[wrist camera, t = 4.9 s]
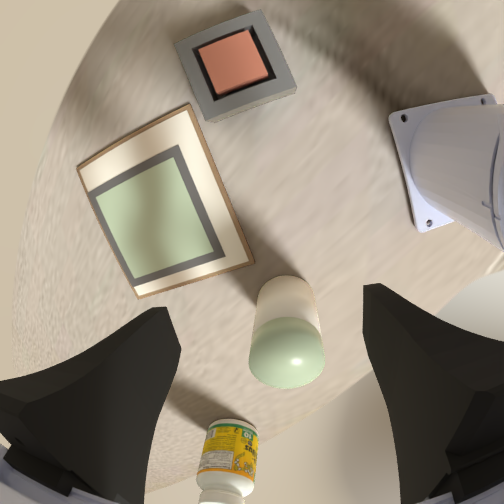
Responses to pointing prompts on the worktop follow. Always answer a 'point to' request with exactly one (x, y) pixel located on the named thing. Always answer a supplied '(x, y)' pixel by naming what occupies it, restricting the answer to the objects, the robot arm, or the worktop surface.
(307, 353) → the green and cream cylinder
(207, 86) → the button housing
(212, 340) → the worktop surface
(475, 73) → the worktop surface
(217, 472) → the supplement bottle
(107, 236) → the picture board
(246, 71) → the button
